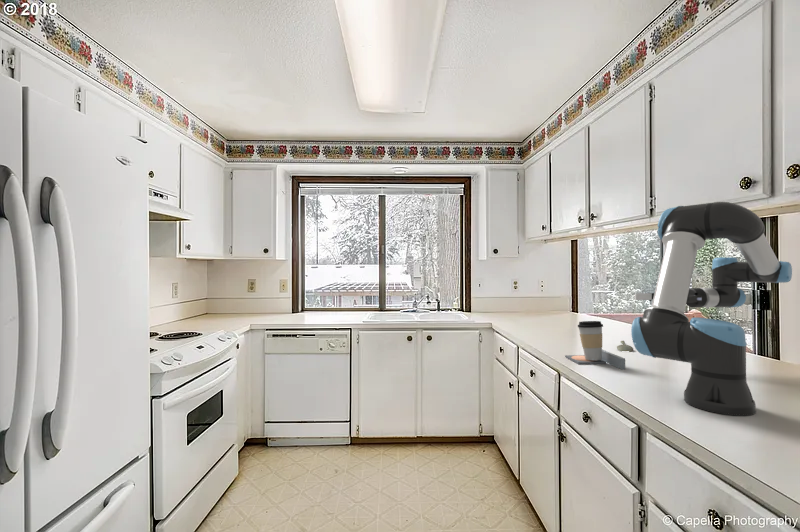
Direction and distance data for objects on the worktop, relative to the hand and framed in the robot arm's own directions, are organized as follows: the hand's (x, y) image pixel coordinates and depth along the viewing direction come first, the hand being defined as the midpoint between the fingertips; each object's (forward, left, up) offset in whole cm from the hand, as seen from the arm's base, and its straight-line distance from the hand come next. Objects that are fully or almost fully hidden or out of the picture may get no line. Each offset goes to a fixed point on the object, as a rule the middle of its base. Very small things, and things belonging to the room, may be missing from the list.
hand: (646, 297), depth 148 cm
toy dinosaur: (+34, -11, -27) cm, 45 cm away
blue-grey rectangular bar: (+5, +12, -26) cm, 29 cm away
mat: (+9, +20, -26) cm, 34 cm away
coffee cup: (+6, +18, -25) cm, 31 cm away
